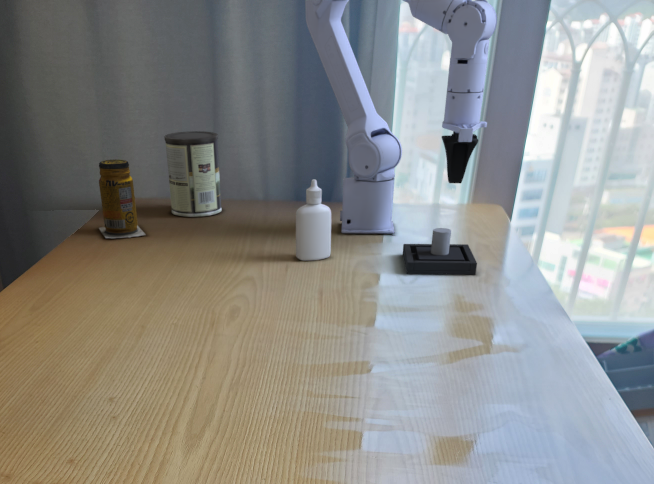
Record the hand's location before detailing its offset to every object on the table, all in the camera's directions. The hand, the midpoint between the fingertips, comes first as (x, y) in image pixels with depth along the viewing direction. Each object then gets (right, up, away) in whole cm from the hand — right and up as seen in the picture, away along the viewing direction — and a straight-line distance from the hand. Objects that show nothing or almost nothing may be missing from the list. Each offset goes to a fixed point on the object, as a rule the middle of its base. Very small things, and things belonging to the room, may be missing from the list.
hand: (454, 182), depth 126 cm
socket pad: (-4, -16, -7) cm, 18 cm away
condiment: (-59, -4, +12) cm, 60 cm away
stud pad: (-4, -16, -7) cm, 18 cm away
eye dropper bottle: (-24, -14, -3) cm, 28 cm away
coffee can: (-47, +5, +25) cm, 53 cm away
